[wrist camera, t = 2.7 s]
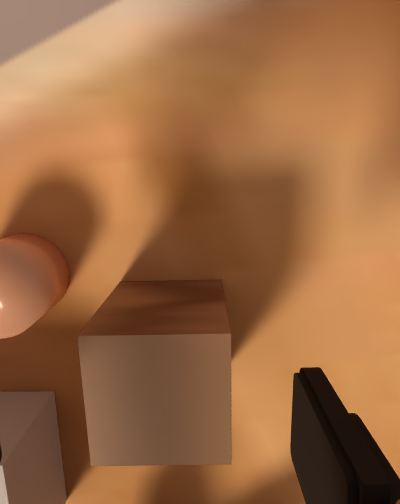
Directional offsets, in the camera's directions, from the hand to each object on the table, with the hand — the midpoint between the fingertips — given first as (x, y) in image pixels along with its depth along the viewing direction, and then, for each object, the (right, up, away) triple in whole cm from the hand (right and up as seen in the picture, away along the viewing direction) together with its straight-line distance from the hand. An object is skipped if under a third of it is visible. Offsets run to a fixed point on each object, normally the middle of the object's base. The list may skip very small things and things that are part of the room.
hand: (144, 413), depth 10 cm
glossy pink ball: (-7, +4, +7) cm, 10 cm away
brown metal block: (0, +1, +7) cm, 7 cm away
